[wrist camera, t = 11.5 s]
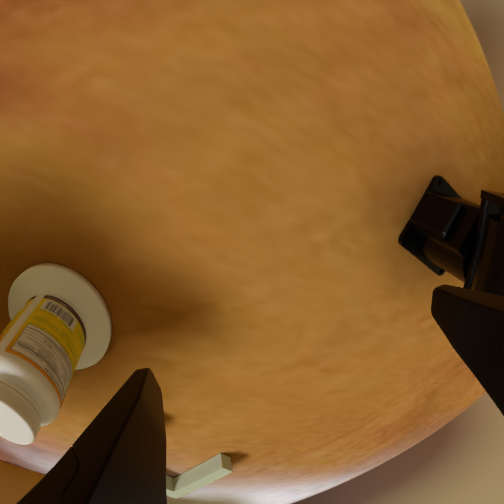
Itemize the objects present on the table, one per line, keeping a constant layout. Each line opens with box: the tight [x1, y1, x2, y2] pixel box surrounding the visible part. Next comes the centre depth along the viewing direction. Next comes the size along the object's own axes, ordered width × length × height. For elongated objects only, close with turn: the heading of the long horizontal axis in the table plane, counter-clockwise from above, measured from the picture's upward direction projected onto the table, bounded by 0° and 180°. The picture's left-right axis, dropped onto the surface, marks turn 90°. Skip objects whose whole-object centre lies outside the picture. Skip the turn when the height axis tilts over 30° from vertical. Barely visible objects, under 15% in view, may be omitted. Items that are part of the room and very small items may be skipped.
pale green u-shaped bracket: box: [166, 453, 233, 499], centre depth 27 cm, size 10×12×2 cm
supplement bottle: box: [0, 293, 87, 445], centre depth 15 cm, size 6×6×10 cm
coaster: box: [8, 263, 112, 370], centre depth 21 cm, size 9×9×1 cm
